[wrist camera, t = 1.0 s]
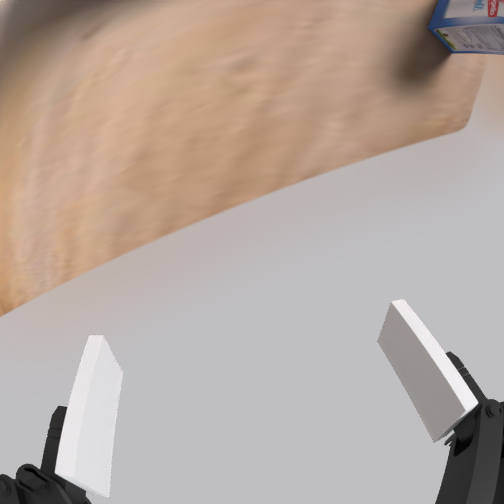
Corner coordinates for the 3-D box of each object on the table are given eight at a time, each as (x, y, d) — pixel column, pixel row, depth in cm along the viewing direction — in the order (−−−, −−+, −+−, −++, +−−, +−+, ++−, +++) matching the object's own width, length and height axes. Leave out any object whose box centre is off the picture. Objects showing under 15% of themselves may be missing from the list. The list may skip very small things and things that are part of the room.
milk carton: (451, 53, 28) (552, 62, 11) (427, 28, 26) (532, 22, 9) (464, 18, 25) (554, 18, 7) (441, -6, 22) (532, -18, 5)
